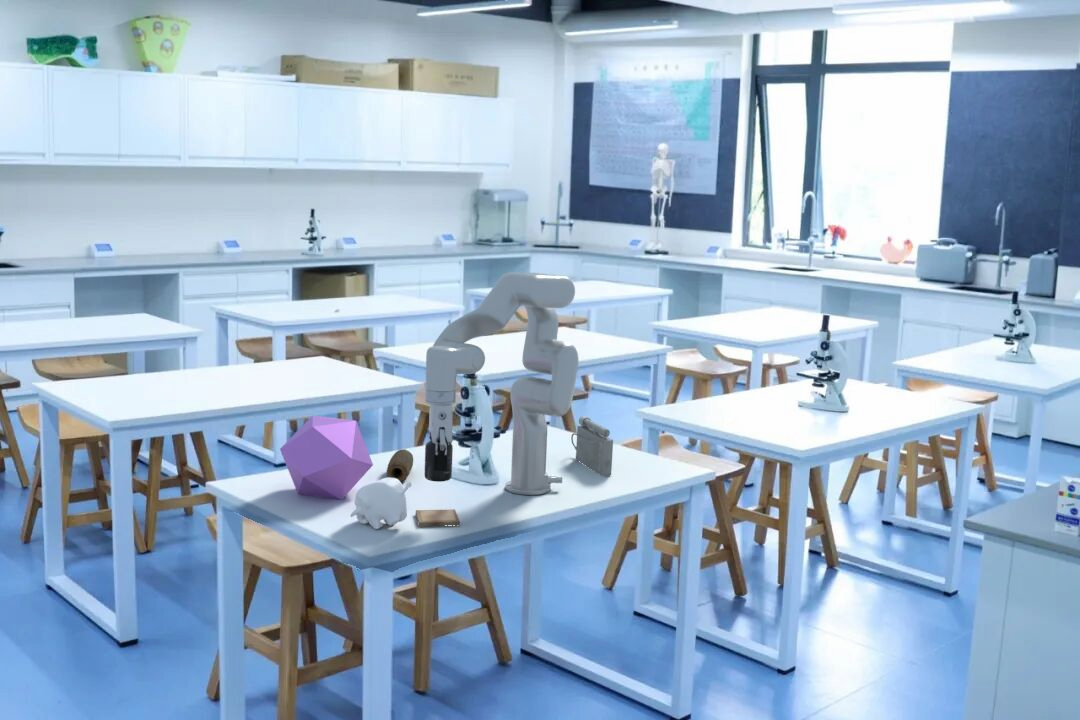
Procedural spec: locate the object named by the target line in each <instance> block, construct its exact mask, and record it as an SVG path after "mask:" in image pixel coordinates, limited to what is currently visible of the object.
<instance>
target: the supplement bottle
mask: <svg viewBox="0 0 1080 720" xmlns="http://www.w3.org/2000/svg"><path fill="white" fill-rule="evenodd" d="M446 441H447V439H446ZM437 442H440V441H437ZM438 446H440V445H438ZM453 447H454V446H453V444H452V443H451V444H449V442H447V470H446V471H434V455H435V444H434V443H433V442H432V438H431V432H429V438H428V441H427V442H426V444H425V449H424V478H425V480H427V481H430V482H437V483H438V482H440V483H441V482H448V481H450V480H452V477H453V449H454V448H453Z"/></svg>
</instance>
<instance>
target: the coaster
mask: <svg viewBox="0 0 1080 720" xmlns="http://www.w3.org/2000/svg"><path fill="white" fill-rule="evenodd" d="M415 517H416V521H417V524H418V527H419V528H426V527H425V526H445V525H447V527H449V526H448V525H452V526H451V527H458V526H457V525H460V524H461V521H460V519H459V516H458V513H457V512H456V509H455V508H454V509H420V510H419V509H416V510H415ZM453 525H455V526H453Z"/></svg>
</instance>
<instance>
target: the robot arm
mask: <svg viewBox="0 0 1080 720" xmlns="http://www.w3.org/2000/svg"><path fill="white" fill-rule="evenodd" d="M575 293H576V287H575V285H574V282H573V281H572V279H570V278H569V277H567V276H565V275H557V274H548V273H539V272H525V273H524V272H516V271H515V272H506V273H504V274H503V275H502V276H501V277H499V279H498V280H497V282H496V283H495V284H494V286H493V287H492V288H491V290H490V291H489V293H488V294H487V295H486V296H485V298H484V299H483V300H482V302H481V303H480V305H479V306H478V307H477V308H475V309H474V310H471V311H470V312H467V313H466V314H464V315H462V316H461V317H459V318H457V319H455V320H453V321H452V322H451V323H449V324H448V325H446V327H445V328H444V329H443V331H442V332H441V333H440V334H439V335H438V337H437V338H436V340H435V341H434V343H433V344H432V346H430V347H428V348H427V350H426V356H425V358H426V359H425V391H424V395H425V396H424V402H425V403H426V404H429V409H428V410H429V412H428V415H429V416H428V417H429V418H428V423H429V424H428V427H429V429H428V430H429V433H430V432H431V438H432V442H433V443H434V444H435V455H434V471H446V470H447V442H449V444H452V443H453V404H456V403H457V402H456V399H457V397H456V396H457V376H458V375H472V374H476V373H477V372H480V371H481V369H483V367H484V365H485V362H486V356H485V352H484V351H483V349H482V348H481V347H480V346H477V345H475V344H472V343H466V342H468V341H470V340H473V339H476V338H478V337H484V336H487V335H488V336H489V335H491V334H494V333H498V332H500V331H502V330H504V328H505V327H506V326H507V325H508V323H509V322H510V321H511V320H512V318H513V316H514V315H515V313H516V312H517V310H518V309H520V307H524V309H525V311H526V314H527V328H526V333H525V338H524V339H525V340H524V343H523V344H524V345H523V349H522V350H523V351H522V358H521V359H522V360H521V361H522V365H523V368H525V369H526V370H528V371H529V372H534V373H538V374H542V375H548V376H549V375H550V376H551V379H547V378H542V377H536V376H530V375H529V376H528V375H527V376H521V377H519V378H517V379H515V380H514V381H513V383H512V384H511V387H510V391H509V392H510V393H509V394H510V403H511V409H512V442H511V443H512V444H511V445H512V446H511V448H512V449H511V473H510V475H511V476H510V480H508V481H506V482H505V485H504V487H505V490H506V491H508V492H510V493H513V494H517V495H526V496H537V495H543V494H546V493H548V492H550V491H551V488H552V487H551V486H552V484H563V476H561V475H560V476H559V475H556V474H548V473H547V470H546V469H547V446H548V424H547V421H546V417H545V416H549V417H550V416H551V417H557V418H558V417H563V416H565V415H566V414H567V413H568V412H569V411H570V408H571V406H572V403H573V399H574V394H575V393H574V392H575V387H576V381H577V377H578V376H577V374H578V370H579V353H578V351H577V348H576V347H575V345H574V344H572V343H570V342H568V341H562V340H558V333H559V332H558V331H559V327H560V326H559V324H560V323H559V316H558V314H557V311H556V309H562V308H566V307H568V306H569V305H570V304H572V302H573V301H574V299H575V295H576V294H575ZM544 415H545V416H544ZM446 439H447V441H446ZM437 441H440V442H437ZM438 445H440V446H438Z"/></svg>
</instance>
